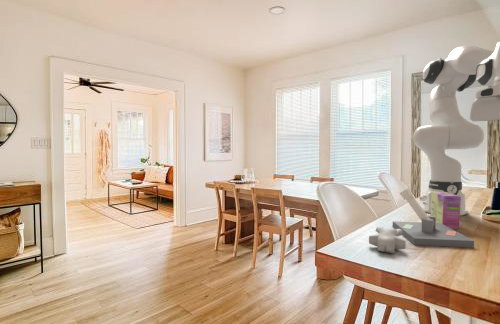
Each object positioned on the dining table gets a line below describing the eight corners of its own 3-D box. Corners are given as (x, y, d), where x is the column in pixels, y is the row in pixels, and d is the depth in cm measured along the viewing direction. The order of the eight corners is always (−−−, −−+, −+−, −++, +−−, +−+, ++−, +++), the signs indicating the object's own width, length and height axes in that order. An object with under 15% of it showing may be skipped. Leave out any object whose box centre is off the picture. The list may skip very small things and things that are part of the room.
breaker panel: (392, 226, 106) (392, 210, 105) (440, 228, 103) (440, 211, 103) (414, 244, 86) (414, 224, 86) (473, 247, 83) (474, 227, 83)
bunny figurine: (366, 238, 80) (373, 220, 93) (366, 255, 81) (373, 235, 94) (405, 243, 76) (406, 223, 88) (404, 261, 76) (406, 239, 89)
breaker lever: (437, 224, 95) (409, 187, 99) (435, 227, 91) (406, 189, 96) (428, 228, 96) (401, 192, 101) (426, 231, 93) (398, 193, 98)
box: (460, 229, 103) (461, 196, 102) (442, 228, 104) (443, 195, 103) (446, 221, 113) (447, 191, 112) (430, 221, 114) (431, 191, 113)
